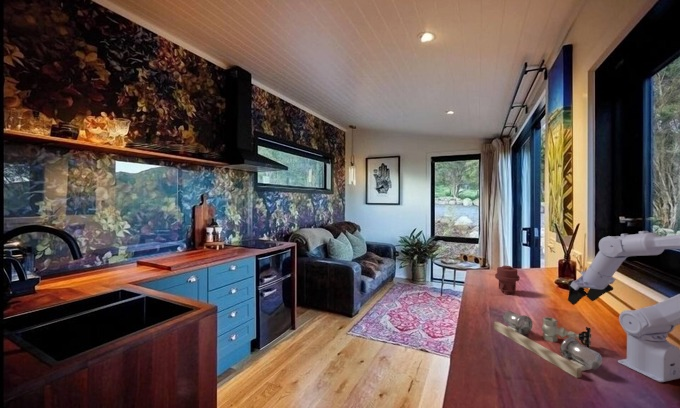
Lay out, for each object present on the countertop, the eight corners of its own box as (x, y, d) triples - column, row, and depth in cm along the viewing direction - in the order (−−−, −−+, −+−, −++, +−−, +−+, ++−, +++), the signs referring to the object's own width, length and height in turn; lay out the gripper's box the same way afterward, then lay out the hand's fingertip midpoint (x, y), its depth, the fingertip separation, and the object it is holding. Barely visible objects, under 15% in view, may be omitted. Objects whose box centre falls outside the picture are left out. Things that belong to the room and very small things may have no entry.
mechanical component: (507, 297, 136) (490, 290, 146) (524, 294, 139) (506, 288, 149) (507, 270, 136) (490, 265, 145) (524, 267, 139) (506, 263, 148)
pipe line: (604, 372, 79) (604, 347, 79) (586, 376, 78) (586, 351, 77) (515, 325, 107) (515, 307, 107) (501, 328, 106) (501, 309, 106)
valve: (540, 341, 96) (589, 354, 88) (540, 320, 96) (589, 331, 88) (544, 334, 101) (591, 345, 93) (544, 314, 101) (591, 324, 93)
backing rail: (581, 376, 77) (581, 367, 77) (576, 377, 77) (576, 368, 77) (497, 328, 105) (497, 321, 105) (493, 329, 105) (493, 321, 105)
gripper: (607, 257, 96) (587, 288, 103) (570, 263, 93) (552, 294, 100) (630, 273, 90) (607, 304, 98) (591, 280, 87) (570, 311, 94)
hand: (580, 300), depth 99 cm, fingers open, 7 cm apart
